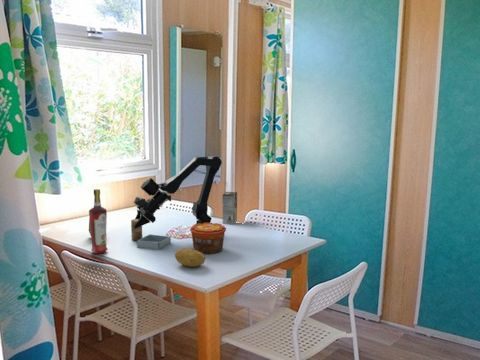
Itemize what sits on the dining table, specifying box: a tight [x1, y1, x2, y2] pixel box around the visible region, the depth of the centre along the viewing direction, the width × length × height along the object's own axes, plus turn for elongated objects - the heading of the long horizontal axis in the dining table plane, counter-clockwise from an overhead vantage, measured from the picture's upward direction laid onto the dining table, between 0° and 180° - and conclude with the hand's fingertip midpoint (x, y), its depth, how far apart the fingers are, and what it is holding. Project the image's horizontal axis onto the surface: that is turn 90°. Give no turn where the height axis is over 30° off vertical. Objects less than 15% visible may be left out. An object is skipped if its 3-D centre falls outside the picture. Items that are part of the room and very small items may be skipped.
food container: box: [189, 222, 227, 255], centre depth 217 cm, size 16×16×11 cm
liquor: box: [88, 188, 108, 255], centre depth 211 cm, size 7×7×28 cm
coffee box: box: [222, 191, 238, 225], centre depth 266 cm, size 9×6×16 cm
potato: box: [174, 247, 206, 268], centre depth 197 cm, size 9×13×7 cm
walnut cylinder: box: [130, 218, 143, 242], centre depth 232 cm, size 5×5×10 cm
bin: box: [136, 234, 172, 251], centre depth 224 cm, size 11×11×3 cm
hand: (133, 226), depth 232 cm, fingers closed on walnut cylinder, 5 cm apart
